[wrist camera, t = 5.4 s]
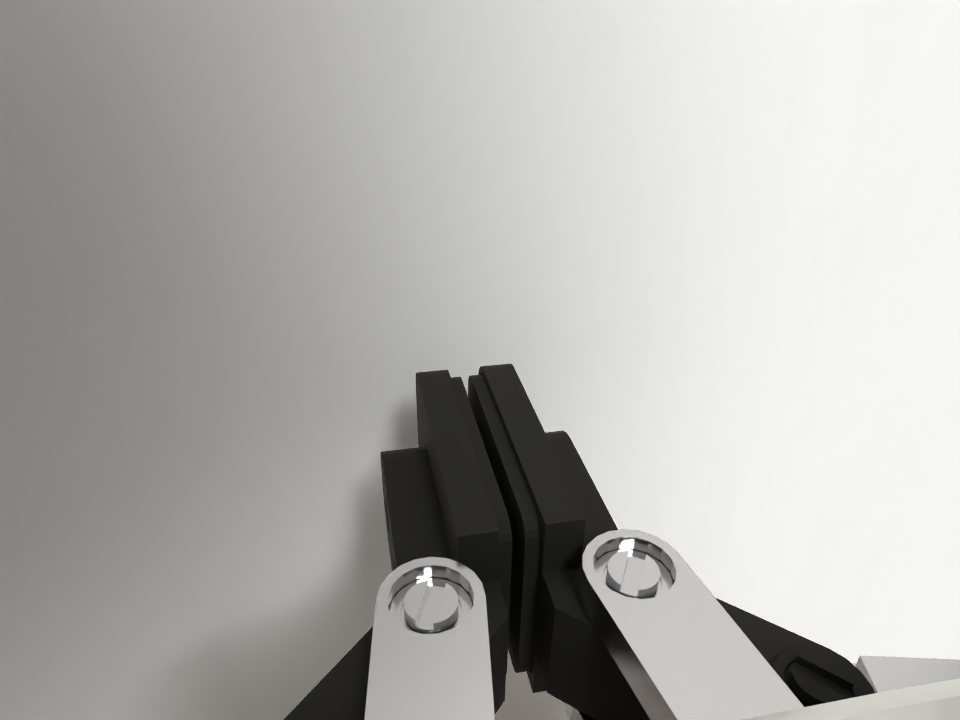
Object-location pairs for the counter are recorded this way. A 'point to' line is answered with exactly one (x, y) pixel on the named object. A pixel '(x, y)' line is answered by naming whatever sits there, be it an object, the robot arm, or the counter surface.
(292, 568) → the counter surface
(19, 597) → the counter surface
